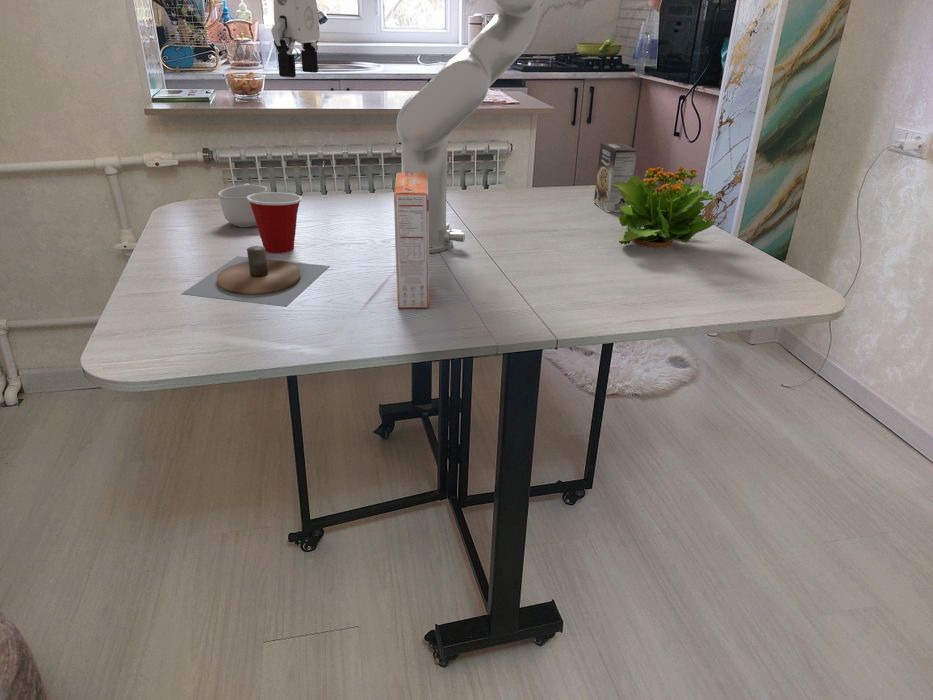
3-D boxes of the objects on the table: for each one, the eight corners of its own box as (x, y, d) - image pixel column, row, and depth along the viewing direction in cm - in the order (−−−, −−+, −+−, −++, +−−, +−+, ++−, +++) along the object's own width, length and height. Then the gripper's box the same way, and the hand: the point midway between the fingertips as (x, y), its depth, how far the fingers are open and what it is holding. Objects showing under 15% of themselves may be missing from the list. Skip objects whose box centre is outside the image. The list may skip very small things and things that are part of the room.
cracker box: (397, 279, 131) (395, 171, 121) (428, 279, 131) (429, 171, 121) (395, 309, 118) (392, 191, 109) (429, 309, 119) (430, 192, 109)
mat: (330, 269, 134) (330, 266, 134) (286, 310, 117) (286, 306, 116) (237, 259, 137) (237, 256, 137) (182, 297, 120) (181, 293, 120)
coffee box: (592, 203, 183) (599, 142, 175) (614, 202, 184) (622, 141, 177) (606, 212, 175) (614, 149, 168) (628, 211, 177) (638, 149, 169)
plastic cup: (316, 248, 145) (312, 193, 139) (284, 264, 136) (278, 205, 130) (276, 240, 149) (270, 185, 143) (242, 254, 140) (234, 197, 134)
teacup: (263, 231, 154) (259, 196, 150) (216, 229, 154) (210, 195, 150) (279, 213, 166) (276, 181, 162) (235, 212, 166) (231, 179, 162)
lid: (313, 269, 132) (310, 239, 129) (279, 299, 119) (275, 267, 116) (242, 261, 134) (238, 232, 132) (201, 290, 121) (196, 258, 119)
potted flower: (583, 226, 164) (592, 153, 156) (670, 222, 170) (683, 151, 162) (630, 262, 143) (642, 180, 135) (727, 256, 149) (745, 176, 140)
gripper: (289, -26, 117) (296, 80, 125) (330, -23, 132) (335, 71, 140) (250, -27, 118) (259, 77, 126) (295, -24, 133) (301, 69, 141)
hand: (299, 74), depth 133 cm, fingers open, 9 cm apart
